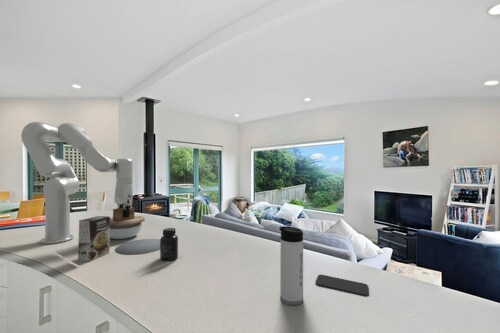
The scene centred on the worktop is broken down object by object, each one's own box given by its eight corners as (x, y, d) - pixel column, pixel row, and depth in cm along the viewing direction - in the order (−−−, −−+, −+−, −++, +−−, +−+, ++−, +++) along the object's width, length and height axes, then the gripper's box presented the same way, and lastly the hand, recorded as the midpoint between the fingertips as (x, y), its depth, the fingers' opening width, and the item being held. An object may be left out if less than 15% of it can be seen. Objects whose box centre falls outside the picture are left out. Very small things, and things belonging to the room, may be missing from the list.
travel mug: (277, 293, 66) (277, 224, 67) (299, 292, 67) (299, 224, 67) (281, 306, 60) (282, 230, 60) (306, 305, 61) (306, 229, 61)
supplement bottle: (181, 257, 93) (181, 228, 93) (169, 263, 87) (169, 232, 87) (168, 255, 96) (169, 226, 96) (156, 260, 90) (156, 230, 90)
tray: (105, 249, 102) (105, 248, 102) (150, 237, 120) (150, 236, 120) (131, 260, 90) (131, 258, 90) (177, 245, 108) (177, 244, 108)
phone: (368, 295, 65) (314, 283, 71) (368, 298, 65) (314, 286, 71) (368, 284, 71) (318, 273, 78) (368, 286, 71) (318, 276, 78)
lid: (93, 222, 117) (94, 208, 117) (132, 216, 134) (132, 204, 134) (113, 228, 106) (113, 213, 106) (152, 220, 123) (152, 207, 123)
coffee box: (91, 263, 87) (91, 220, 88) (77, 261, 89) (78, 220, 89) (110, 254, 96) (110, 216, 97) (97, 253, 98) (97, 215, 98)
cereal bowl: (97, 240, 115) (97, 226, 115) (125, 232, 131) (126, 219, 131) (121, 244, 109) (121, 229, 109) (148, 235, 124) (148, 222, 124)
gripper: (108, 181, 122) (108, 216, 121) (125, 182, 112) (125, 220, 112) (123, 181, 128) (122, 213, 128) (140, 182, 119) (139, 217, 118)
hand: (123, 216), depth 120 cm, fingers closed on lid, 4 cm apart
